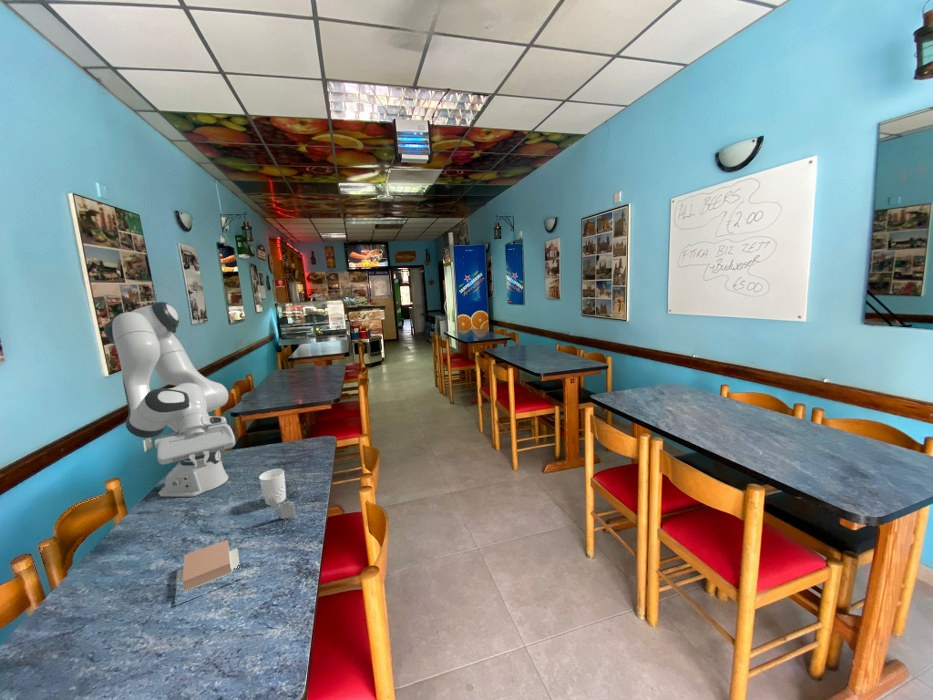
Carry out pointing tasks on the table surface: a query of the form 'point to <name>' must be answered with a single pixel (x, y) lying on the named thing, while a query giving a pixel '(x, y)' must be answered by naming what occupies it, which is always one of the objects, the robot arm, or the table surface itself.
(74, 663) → the table surface
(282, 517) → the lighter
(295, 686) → the table surface
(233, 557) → the mat
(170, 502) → the table surface
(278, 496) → the white cup
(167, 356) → the robot arm
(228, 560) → the tile
